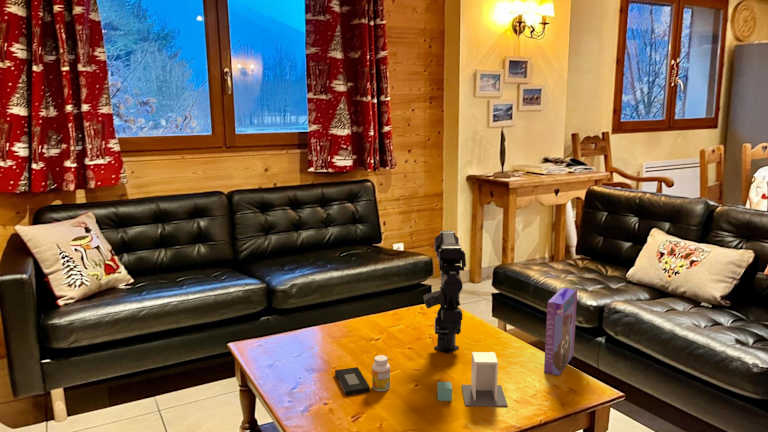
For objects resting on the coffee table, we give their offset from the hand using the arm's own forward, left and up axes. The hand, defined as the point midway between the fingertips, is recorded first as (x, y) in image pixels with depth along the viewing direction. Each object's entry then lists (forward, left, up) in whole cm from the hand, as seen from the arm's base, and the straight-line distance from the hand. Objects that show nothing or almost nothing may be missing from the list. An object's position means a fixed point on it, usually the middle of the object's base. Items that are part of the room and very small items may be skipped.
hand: (449, 331), depth 189 cm
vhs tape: (+28, -17, -14) cm, 35 cm away
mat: (+8, +18, -13) cm, 24 cm away
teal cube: (+16, +10, -13) cm, 23 cm away
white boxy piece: (+8, +18, -13) cm, 24 cm away
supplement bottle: (+24, -8, -13) cm, 29 cm away
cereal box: (-27, +25, -13) cm, 39 cm away
